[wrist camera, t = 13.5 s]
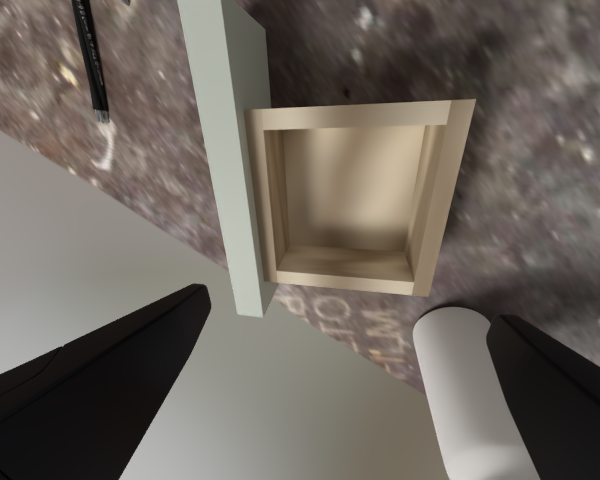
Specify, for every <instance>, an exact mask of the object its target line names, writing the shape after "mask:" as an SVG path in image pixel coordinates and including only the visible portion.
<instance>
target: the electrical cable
mask: <svg viewBox="0 0 600 480" xmlns="http://www.w3.org/2000/svg"><path fill="white" fill-rule="evenodd" d="M72 6H73V11H74V16H75V21H76V26H77V31H78V36H79V41H80V46H81V50H82V55H83V59H84V63H85V67H86V72H87V76H88V80H89V84H90V91H91V98H92V104H93V109H95V113H96V117H97V121H98V122H100V119H101V122H102V123H104V122H105V120H104V114H105V118H106V122H107V123H109V119H108V113H107V111H108V106H107V101H106V96H105V91H104V87H103V83H102V78H101V74H100V70H99V65H98V58H97V50H96V43H95V36H94V29H93V22H92V16H91V10H90V4H89V0H72Z"/></svg>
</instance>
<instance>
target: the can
mask: <svg viewBox="0 0 600 480" xmlns="http://www.w3.org/2000/svg"><path fill="white" fill-rule="evenodd" d="M490 325H491V324H490V322H489V321H488V320H487V319H486V318H485V317H484V316H483V315H481V314H480V313H478V312H476V311H473V310H470V309H467V308H461V307H443V308H439V309H435V310H433V311H431V312H429V313H427V314H425V315H424V316H423V317H421V318H420V319H419V320H418V321H417V323H416V324H415V327H414V330H413V340H414V345H415V349H416V353H417V357H418V361H419V365H420V370H421V374H422V378H423V382H424V386H425V390H426V394H427V398H428V402H429V406H430V410H431V414H432V418H433V422H434V426H435V430H436V434H437V438H438V442H439V446H440V450H441V453H442V457H443V461H444V465H445V468H446V471H447V474H448V476H449V478H450V480H540V478H539V476H538V473H537V471H536V469H535V467H534V465H533V462H532V460H531V458H530V456H529V453H528V451H527V449H526V447H525V444H524V442H523V440H522V438H521V435H520V433H519V431H518V429H517V426H516V424H515V422H514V420H513V418H512V415H511V413H510V411H509V408H508V406H507V403H506V401H505V398H504V395H503V392H502V389H501V386H500V383H499V380H498V377H497V374H496V371H495V368H494V365H493V362H492V359H491V356H490V353H489V350H488V347H487V344H486V335H487V332H488V330H489V327H490Z"/></svg>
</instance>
